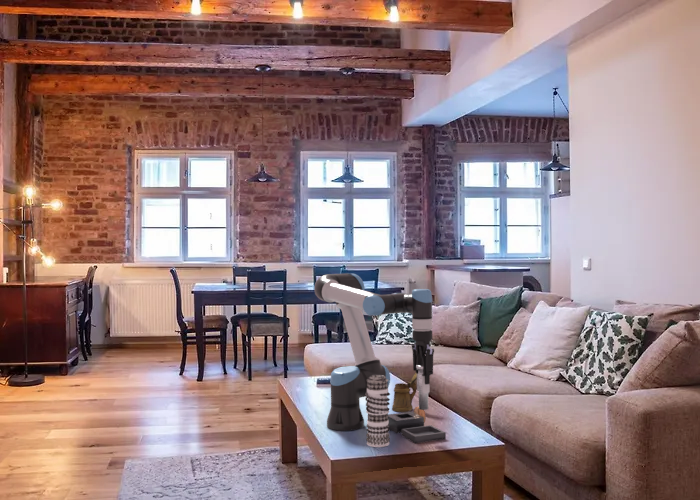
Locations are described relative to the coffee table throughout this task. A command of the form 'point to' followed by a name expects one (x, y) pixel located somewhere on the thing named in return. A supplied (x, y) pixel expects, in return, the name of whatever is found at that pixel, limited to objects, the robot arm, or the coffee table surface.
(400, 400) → the wooden mug
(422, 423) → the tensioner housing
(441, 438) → the tray
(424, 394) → the lock pin
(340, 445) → the coffee table surface
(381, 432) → the decorative candle
